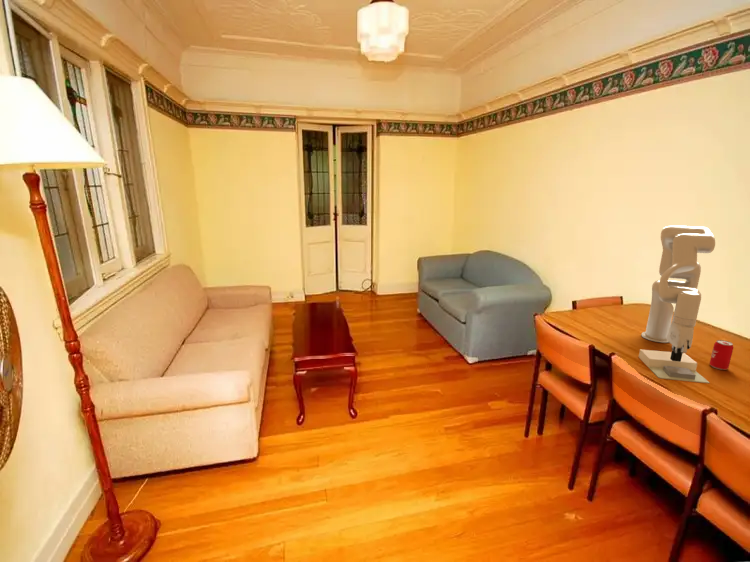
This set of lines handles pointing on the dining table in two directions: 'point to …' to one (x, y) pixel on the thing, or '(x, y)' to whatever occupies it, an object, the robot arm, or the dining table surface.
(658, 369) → the mat
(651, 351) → the block
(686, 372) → the slate coaster
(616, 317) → the dining table surface
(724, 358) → the beverage can
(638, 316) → the dining table surface
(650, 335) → the robot arm
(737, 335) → the dining table surface
